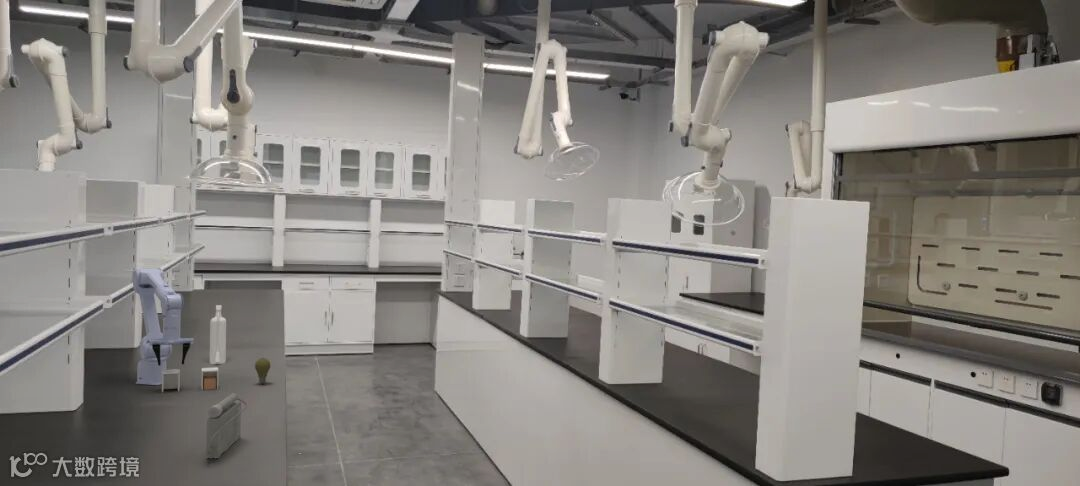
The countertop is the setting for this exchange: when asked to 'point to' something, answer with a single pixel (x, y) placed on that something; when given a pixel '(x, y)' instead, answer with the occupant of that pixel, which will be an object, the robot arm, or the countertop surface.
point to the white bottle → (218, 338)
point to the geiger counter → (223, 425)
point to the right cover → (209, 372)
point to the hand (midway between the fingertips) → (171, 364)
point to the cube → (210, 382)
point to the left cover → (171, 379)
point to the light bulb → (262, 369)
